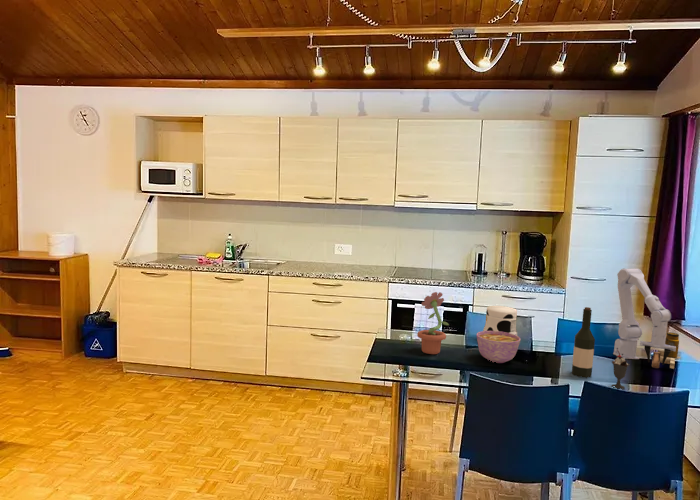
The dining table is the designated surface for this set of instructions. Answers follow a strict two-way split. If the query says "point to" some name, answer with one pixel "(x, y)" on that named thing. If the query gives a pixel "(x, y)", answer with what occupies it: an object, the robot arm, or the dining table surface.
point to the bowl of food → (497, 345)
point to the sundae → (619, 370)
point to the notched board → (668, 361)
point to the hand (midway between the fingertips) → (655, 363)
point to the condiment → (672, 344)
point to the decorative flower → (431, 336)
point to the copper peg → (656, 359)
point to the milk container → (501, 319)
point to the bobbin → (660, 351)
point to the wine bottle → (584, 348)
